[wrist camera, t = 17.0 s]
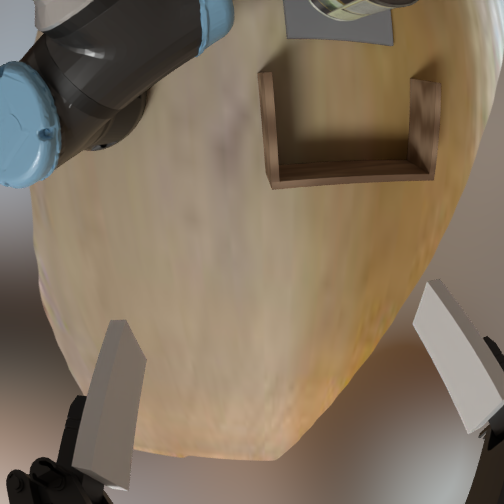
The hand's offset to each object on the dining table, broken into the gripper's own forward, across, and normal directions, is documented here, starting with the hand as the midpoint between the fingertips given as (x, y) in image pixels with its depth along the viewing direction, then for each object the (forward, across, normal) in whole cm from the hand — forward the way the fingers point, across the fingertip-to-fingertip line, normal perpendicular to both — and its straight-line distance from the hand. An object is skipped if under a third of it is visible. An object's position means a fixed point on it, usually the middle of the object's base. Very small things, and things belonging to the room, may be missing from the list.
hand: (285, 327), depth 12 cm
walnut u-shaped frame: (+35, +15, +3) cm, 38 cm away
